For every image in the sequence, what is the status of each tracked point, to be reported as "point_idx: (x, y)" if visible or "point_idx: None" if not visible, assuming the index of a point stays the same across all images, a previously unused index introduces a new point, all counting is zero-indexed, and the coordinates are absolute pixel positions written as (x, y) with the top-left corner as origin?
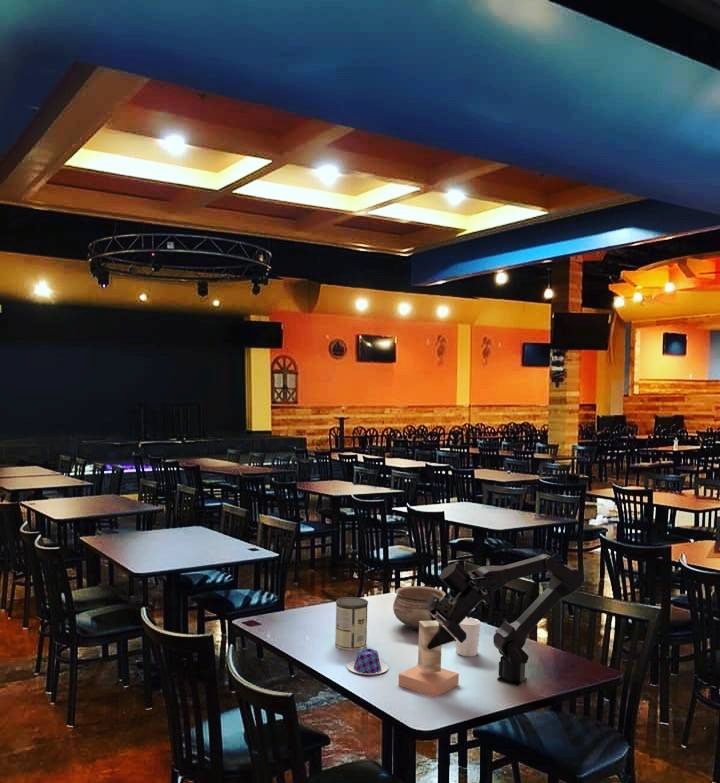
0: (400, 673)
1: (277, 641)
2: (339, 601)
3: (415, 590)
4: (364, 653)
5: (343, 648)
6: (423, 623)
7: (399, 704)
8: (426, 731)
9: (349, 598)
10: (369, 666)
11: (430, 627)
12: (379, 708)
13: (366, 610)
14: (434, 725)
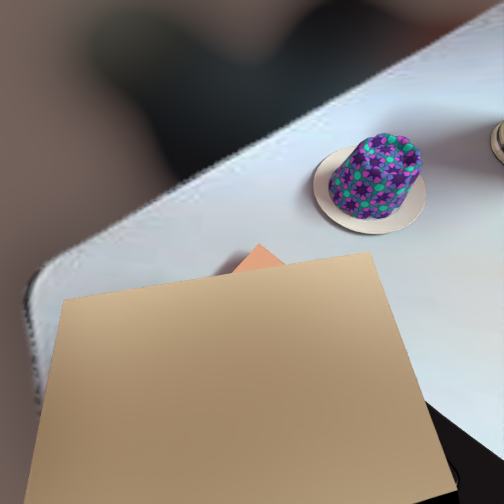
0: (263, 248)
1: (488, 27)
2: None
3: None
4: (367, 145)
5: (494, 132)
6: (225, 310)
7: (154, 246)
8: (27, 286)
9: None
10: (341, 181)
11: (62, 419)
12: (143, 207)
13: None
14: (43, 308)
